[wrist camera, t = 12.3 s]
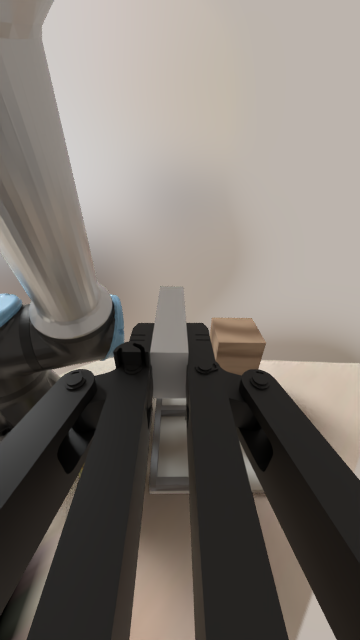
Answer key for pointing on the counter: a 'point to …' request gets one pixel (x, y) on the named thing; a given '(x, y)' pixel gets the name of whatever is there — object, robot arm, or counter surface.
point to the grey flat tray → (177, 451)
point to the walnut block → (236, 344)
